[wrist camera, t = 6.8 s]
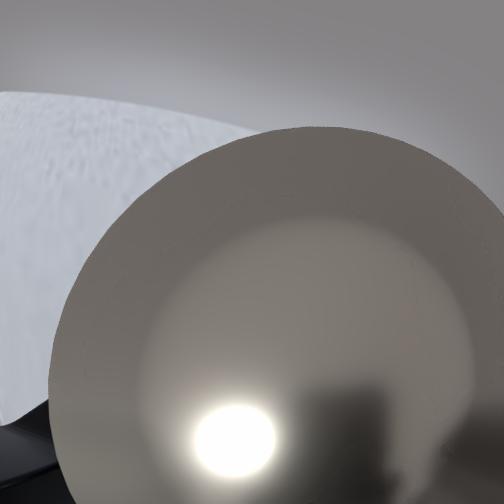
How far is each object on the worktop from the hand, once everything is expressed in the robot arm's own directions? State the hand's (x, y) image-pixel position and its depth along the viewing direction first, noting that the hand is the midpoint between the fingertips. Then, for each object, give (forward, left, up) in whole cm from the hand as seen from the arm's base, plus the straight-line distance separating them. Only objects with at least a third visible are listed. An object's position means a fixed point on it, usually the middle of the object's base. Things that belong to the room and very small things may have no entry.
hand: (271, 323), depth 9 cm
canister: (-1, 0, -8) cm, 8 cm away
